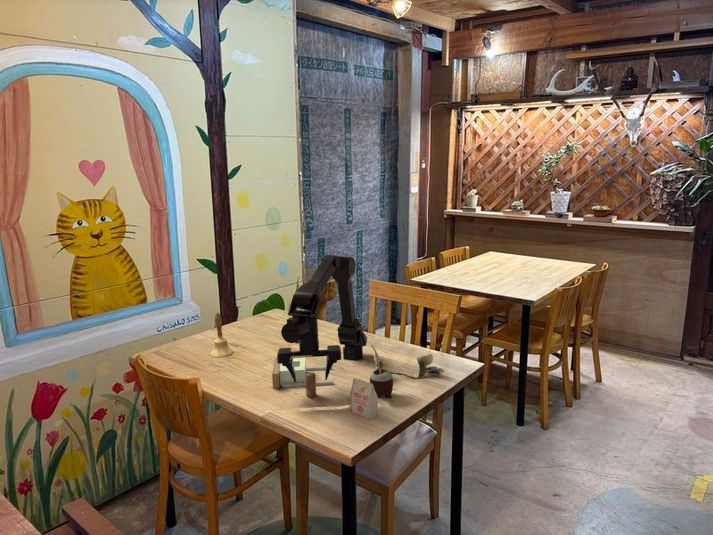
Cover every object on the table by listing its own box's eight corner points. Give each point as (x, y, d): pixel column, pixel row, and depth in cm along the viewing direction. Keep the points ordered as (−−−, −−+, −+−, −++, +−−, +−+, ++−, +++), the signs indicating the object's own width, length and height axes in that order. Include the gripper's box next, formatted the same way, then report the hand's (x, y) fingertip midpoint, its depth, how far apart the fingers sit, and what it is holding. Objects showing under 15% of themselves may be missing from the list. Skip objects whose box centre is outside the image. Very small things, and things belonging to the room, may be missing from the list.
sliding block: (306, 371, 174) (305, 357, 173) (305, 384, 164) (304, 369, 163) (282, 372, 173) (281, 358, 172) (280, 385, 163) (279, 371, 162)
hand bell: (225, 358, 190) (221, 317, 186) (205, 356, 192) (202, 315, 189) (237, 350, 197) (234, 310, 194) (218, 348, 200) (215, 308, 197)
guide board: (335, 371, 176) (334, 354, 175) (336, 387, 163) (336, 370, 162) (276, 374, 175) (275, 357, 173) (273, 391, 162) (272, 373, 161)
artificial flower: (373, 378, 173) (375, 348, 174) (439, 383, 174) (441, 353, 175) (375, 382, 164) (377, 350, 165) (444, 387, 165) (447, 356, 166)
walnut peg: (316, 396, 158) (315, 372, 156) (316, 400, 155) (315, 376, 153) (306, 397, 158) (305, 372, 156) (306, 401, 155) (305, 376, 153)
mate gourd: (389, 403, 152) (388, 355, 149) (364, 400, 155) (363, 353, 152) (396, 392, 159) (396, 346, 156) (372, 389, 162) (371, 344, 159)
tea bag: (359, 407, 150) (358, 375, 148) (377, 414, 146) (376, 381, 144) (350, 412, 148) (349, 380, 145) (369, 419, 143) (368, 386, 141)
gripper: (338, 321, 160) (340, 368, 164) (278, 324, 159) (281, 371, 162) (340, 333, 150) (342, 383, 153) (275, 336, 148) (278, 387, 152)
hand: (310, 380), depth 155 cm, fingers open, 9 cm apart
